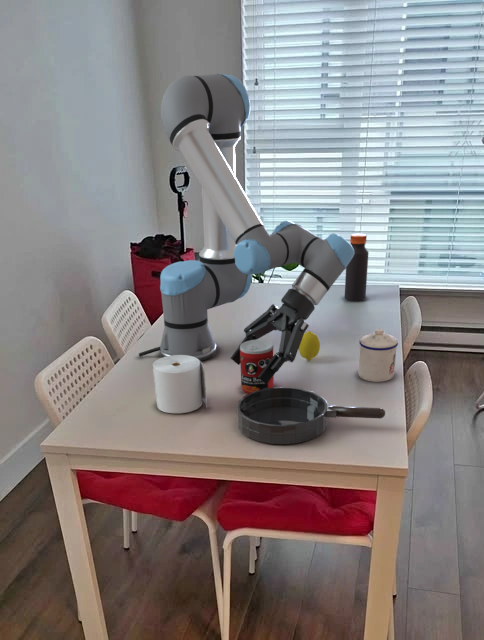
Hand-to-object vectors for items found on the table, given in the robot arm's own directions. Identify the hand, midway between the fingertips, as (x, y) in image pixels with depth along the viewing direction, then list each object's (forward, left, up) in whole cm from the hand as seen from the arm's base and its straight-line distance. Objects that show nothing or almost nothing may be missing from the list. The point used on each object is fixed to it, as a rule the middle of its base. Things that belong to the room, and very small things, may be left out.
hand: (247, 371), depth 158 cm
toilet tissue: (-14, -9, -5) cm, 17 cm away
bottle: (+24, +75, -5) cm, 79 cm away
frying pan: (+10, -17, -5) cm, 20 cm away
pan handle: (+25, -17, -3) cm, 30 cm away
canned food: (+2, +1, -5) cm, 6 cm away
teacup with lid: (+30, +13, -5) cm, 33 cm away
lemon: (+13, +20, -5) cm, 25 cm away
